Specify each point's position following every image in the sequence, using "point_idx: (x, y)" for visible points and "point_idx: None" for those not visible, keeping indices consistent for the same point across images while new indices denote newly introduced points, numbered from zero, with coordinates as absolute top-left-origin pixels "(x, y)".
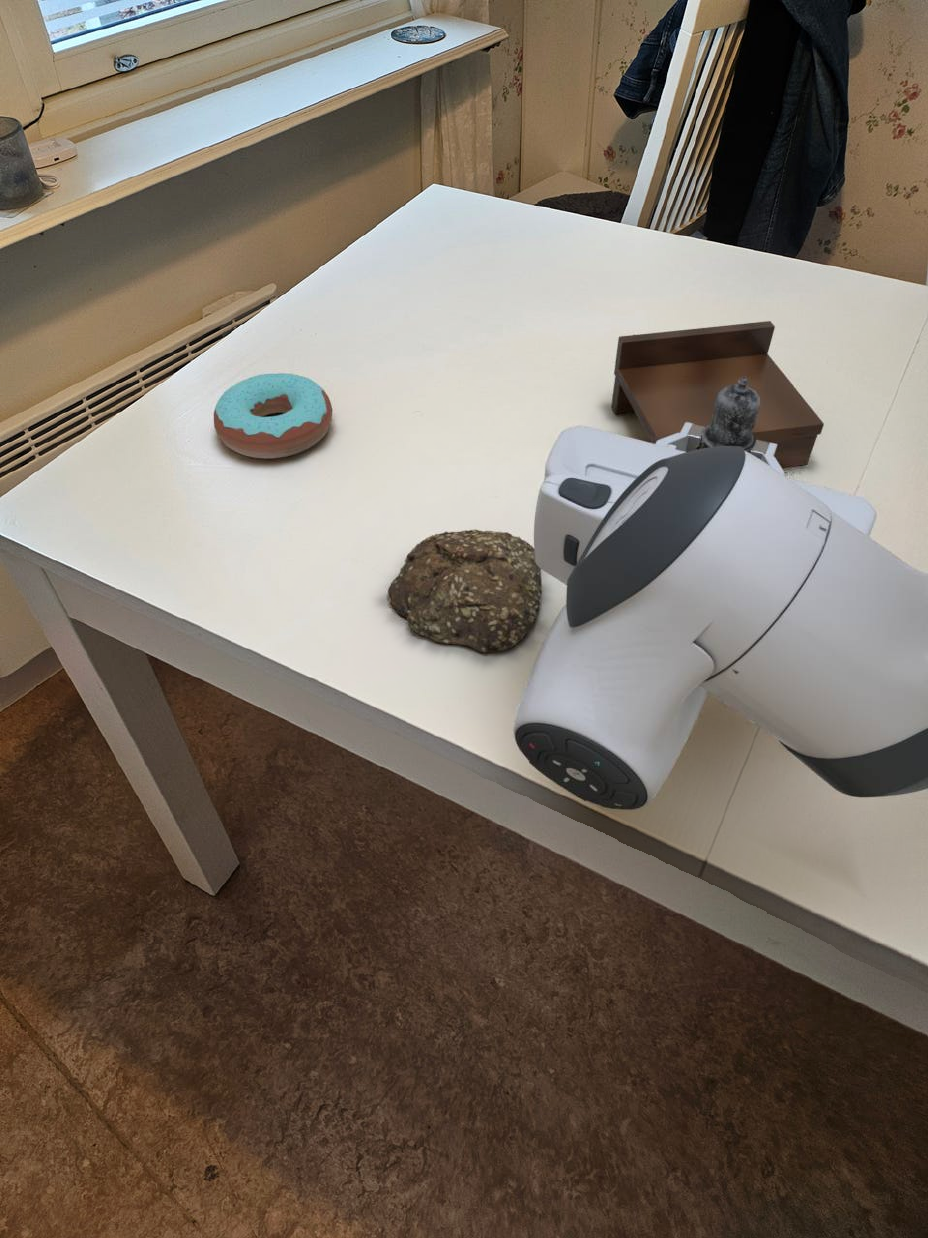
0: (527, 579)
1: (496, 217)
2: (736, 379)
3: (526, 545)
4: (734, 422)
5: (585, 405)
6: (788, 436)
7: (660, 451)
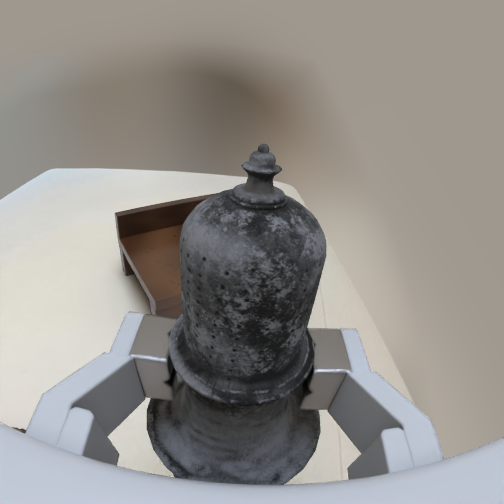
0: None
1: (73, 174)
2: None
3: None
4: (264, 318)
5: (103, 270)
6: None
7: (17, 481)
